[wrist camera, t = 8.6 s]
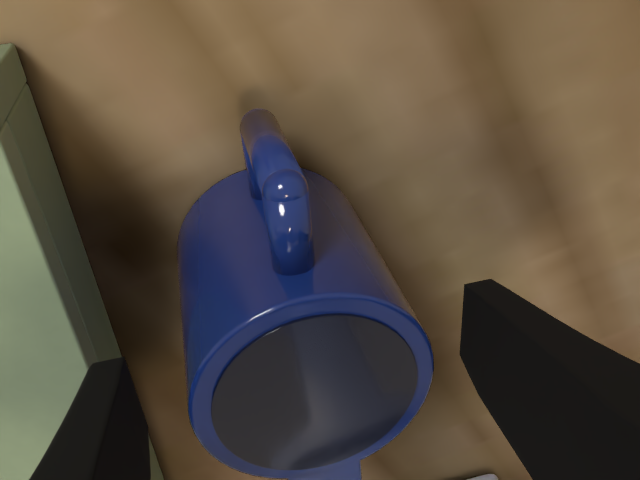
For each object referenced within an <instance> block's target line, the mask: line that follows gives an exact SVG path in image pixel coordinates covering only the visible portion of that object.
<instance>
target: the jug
mask: <svg viewBox="0 0 640 480" xmlns="http://www.w3.org/2000/svg"><path fill="white" fill-rule="evenodd" d="M240 132H241V138H242V145H243V151H244V158H245V164H246V170H243V171H240V172H237V173H234V174H232V175H230V176H228V177H226V178H224V179H222V180H221V181H219V182H218V183H216V184H215V185H213V186H212V187H211V188H210V189H209V190H207V191H206V192H205V193H204V194H203V195H202V196H201V197H200V198H199V199H198V200H197V201H196V202H195V204H194V205H193V206H192V208H191V209H190V211H189V212H188V214H187V215H186V217H185V219H184V222H183V224H182V226H181V229H180V232H179V236H178V242H177V264H178V278H179V292H180V306H181V320H182V334H183V348H184V362H185V376H186V390H187V403H188V413H189V419H190V423H191V426H192V429H193V431H194V434H195V435H196V437H197V438H198V440H199V442H200V443H201V445H202V446H203V447H204V448H205V449H206V450H207V451H208V452H209V454H210V455H212V456H213V457H214V458H216V459H217V460H218V461H219V462H221V463H223V464H225V465H226V466H228V467H230V468H232V469H235V470H237V471H239V472H242V473H246V474H249V475H253V476H258V477H264V478H275V479H287V480H362V476H361V460H362V459H364V458H366V457H368V456H370V455H371V454H373V453H375V452H376V451H378V450H379V449H381V448H382V447H384V446H385V445H386V444H388V443H389V442H390V441H392V440H393V439H394V438H395V437H396V436H397V435H399V434H400V433H401V432H402V431H403V430H404V429H405V428H406V427H407V426H408V424H409V423H410V422H411V421H412V420H413V418H414V417H415V416H416V414H417V413H418V412H419V410H420V408H421V407H422V405H423V403H424V401H425V399H426V397H427V395H428V392H429V390H430V386H431V383H432V379H433V371H434V359H433V351H432V347H431V343H430V340H429V338H428V336H427V334H426V332H425V330H424V328H423V327H422V325H421V323H420V321H419V320H418V318H417V316H416V315H415V313H414V311H413V309H412V308H411V306H410V304H409V303H408V301H407V299H406V298H405V296H404V294H403V292H402V291H401V289H400V287H399V286H398V284H397V282H396V280H395V279H394V277H393V275H392V274H391V272H390V270H389V269H388V267H387V265H386V263H385V262H384V260H383V258H382V257H381V255H380V253H379V251H378V250H377V248H376V246H375V245H374V243H373V241H372V239H371V238H370V236H369V234H368V233H367V231H366V229H365V228H364V226H363V224H362V222H361V221H360V219H359V217H358V216H357V214H356V212H355V210H354V209H353V207H352V205H351V204H350V202H349V201H348V199H347V198H346V196H345V195H344V194H343V193H342V191H341V190H340V189H339V188H338V187H337V186H336V185H334V184H333V183H332V182H331V181H329V180H328V179H326V178H324V177H323V176H321V175H319V174H317V173H314V172H312V171H310V170H307V169H303V168H300V167H299V165H298V163H297V160H296V158H295V156H294V154H293V152H292V150H291V148H290V146H289V144H288V142H287V140H286V138H285V136H284V134H283V132H282V130H281V128H280V126H279V124H278V122H277V120H276V118H275V116H274V115H273V114H272V113H271V112H269V111H267V110H265V109H260V108H258V109H253V110H251V111H249V112H247V113H246V114H245V115H244V117H243V118H242V120H241V124H240Z"/></svg>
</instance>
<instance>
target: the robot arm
mask: <svg viewBox="0 0 640 480" xmlns="http://www.w3.org/2000/svg"><path fill="white" fill-rule="evenodd" d="M460 356H461V359H462V361H463V363H464V365H465V367H466V370H467V372H468V374H469V376H470V378H471V380H472V382H473V384H474V386H475V388H476V390H477V393H478V395H479V396H480V398H481V399H482V401H483V403H484V404H485V406H486V407H487V409H488V411H489V412H490V414H491V415H492V417H493V418H494V420H495V422H496V423H497V425H498V426H499V428H500V429H501V431H502V432H503V434H504V436H505V437H506V439H507V440H508V442H509V443H510V445H511V446H512V448H513V449H514V451H515V453H516V454H517V456H518V457H519V459H520V460H521V462H522V463H523V465H524V466H525V468H526V470H527V471H528V473H529V474H530V476H531V477H532V479H533V480H640V364H639V363H637V362H635V361H633V360H631V359H629V358H627V357H625V356H623V355H621V354H619V353H617V352H615V351H613V350H611V349H609V348H607V347H605V346H604V345H602V344H600V343H598V342H596V341H594V340H592V339H591V338H589V337H587V336H585V335H583V334H582V333H580V332H578V331H576V330H575V329H573V328H571V327H569V326H568V325H566V324H564V323H563V322H561V321H559V320H558V319H556V318H554V317H553V316H551V315H549V314H548V313H546V312H544V311H543V310H541V309H539V308H538V307H536V306H535V305H533V304H531V303H530V302H528V301H527V300H525V299H523V298H522V297H520V296H518V295H517V294H515V293H514V292H512V291H510V290H509V289H507V288H506V287H504V286H502V285H501V284H499V283H497V282H495V281H494V280H492V279H488V280H483V281H478V282H474V283H469V284H464V299H463V314H462V328H461V343H460ZM29 480H151V468H150V450H149V435H148V425H147V422H146V419H145V416H144V413H143V411H142V408H141V405H140V402H139V399H138V396H137V393H136V390H135V387H134V384H133V381H132V378H131V375H130V372H129V369H128V366H127V363H126V360H125V357H120V358H115V359H110V360H106V361H101V362H96V363H92V365H91V366H90V367H89V369H88V371H87V373H86V375H85V377H84V379H83V381H82V383H81V385H80V388H79V390H78V392H77V394H76V396H75V398H74V400H73V402H72V404H71V406H70V408H69V410H68V412H67V414H66V416H65V417H64V419H63V421H62V423H61V425H60V427H59V429H58V430H57V432H56V434H55V436H54V438H53V440H52V441H51V443H50V445H49V447H48V449H47V450H46V452H45V454H44V456H43V457H42V459H41V461H40V463H39V464H38V466H37V467H36V469H35V471H34V472H33V474H32V475H31V477H30V479H29ZM466 480H499V479H498V477H497V476H496V475H495V474H485V475H481V476H477V477H474V478H470V479H466Z"/></svg>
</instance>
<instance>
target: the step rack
mask: <svg viewBox="0 0 640 480" xmlns="http://www.w3.org/2000/svg"><path fill="white" fill-rule="evenodd" d="M26 81H27V79H26V76H25V73H24V70H23V68H22V65H21V62H20V59H19V56H18V53H17V50H16V47H15V45H14V44H12V43H9V44H1V45H0V480H29V479H30V477H31V475H32V474H33V472H34V471H35V469H36V467H37V466H38V464H39V463H40V461H41V459H42V457H43V456H44V454H45V452H46V450H47V449H48V447H49V445H50V443H51V441H52V440H53V438H54V436H55V434H56V432H57V430H58V429H59V427H60V425H61V423H62V421H63V419H64V417H65V416H66V414H67V412H68V410H69V408H70V406H71V404H72V402H73V400H74V398H75V396H76V394H77V392H78V390H79V388H80V385H81V383H82V381H83V379H84V377H85V375H86V373H87V371H88V369H89V367H90V366H91V365H92V363H96V362H101V361H106V360H110V359H115V358H120V357H122V356H121V353H120V350H119V347H118V344H117V341H116V338H115V335H114V332H113V330H112V327H111V324H110V321H109V318H108V315H107V312H106V309H105V306H104V303H103V301H102V298H101V295H100V292H99V289H98V286H97V283H96V280H95V277H94V274H93V271H92V269H91V266H90V263H89V260H88V257H87V254H86V251H85V248H84V245H83V242H82V240H81V237H80V234H79V231H78V228H77V225H76V222H75V219H74V216H73V213H72V210H71V208H70V205H69V202H68V199H67V196H66V193H65V190H64V187H63V184H62V181H61V178H60V176H59V173H58V170H57V167H56V164H55V161H54V158H53V155H52V152H51V149H50V147H49V144H48V141H47V138H46V135H45V132H44V129H43V126H42V123H41V120H40V117H39V115H38V112H37V109H36V106H35V103H34V100H33V97H32V94H31V91H30V88H29V86H28V85H27V84H26ZM148 435H149V434H148ZM149 450H150V468H151V480H164V478H163V475H162V472H161V469H160V466H159V463H158V460H157V457H156V455H155V452H154V449H153V446H152V443H151V440H150V437H149Z"/></svg>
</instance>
